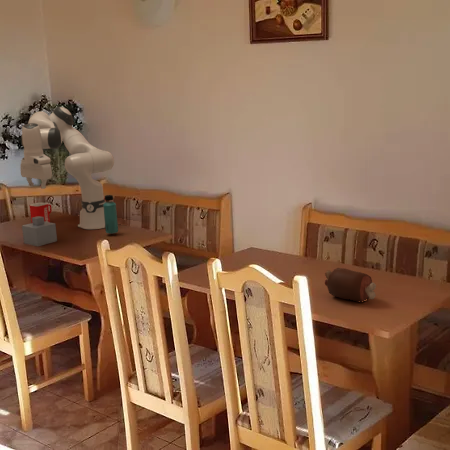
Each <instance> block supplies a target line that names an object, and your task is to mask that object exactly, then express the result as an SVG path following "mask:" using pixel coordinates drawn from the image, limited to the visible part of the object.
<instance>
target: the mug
mask: <svg viewBox="0 0 450 450" xmlns="http://www.w3.org/2000/svg"><path fill="white" fill-rule="evenodd" d="M28 207H29V212H30V221H31V222H30V223H32V218H33V217H37V216H41V217H44V221H45V222H50V223H51V219H50V214H51V213H52V211H53V210H52V204H49V203H48V202H36V203H35V202H34V203H31V204H29V206H28Z"/></svg>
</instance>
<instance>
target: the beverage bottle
mask: <svg viewBox="0 0 450 450" xmlns="http://www.w3.org/2000/svg"><path fill="white" fill-rule="evenodd" d="M104 198H105V200H106V201H105V203H104V204H103V207H104V218H105V228H104V229H105V233H106V234H116V233H119V222H118V213H117V203H116V202H114V196H113V195H112V194H107V195H106V194H105V196H104Z"/></svg>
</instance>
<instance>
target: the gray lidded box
mask: <svg viewBox="0 0 450 450" xmlns="http://www.w3.org/2000/svg"><path fill="white" fill-rule="evenodd" d="M21 230H22V237H23V244H26V245H29V246H34V247H40V246H44V245H47V243H49V244H52V243H56V242H57V241H58V237H57V228H56V223H55V222H51V221H50V222H45V221H44V217H41V216H37V217H33V218H32V223H31V222H30V223H27V224H23V225H21Z"/></svg>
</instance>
